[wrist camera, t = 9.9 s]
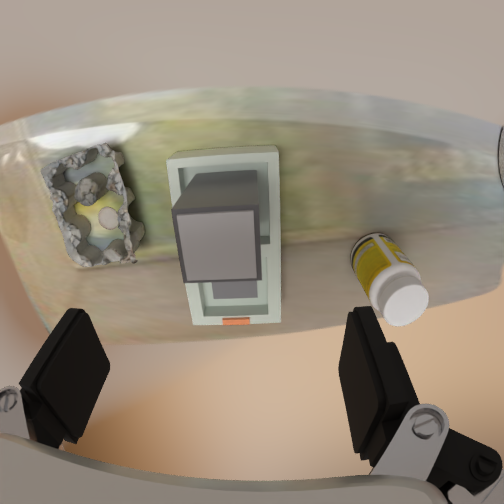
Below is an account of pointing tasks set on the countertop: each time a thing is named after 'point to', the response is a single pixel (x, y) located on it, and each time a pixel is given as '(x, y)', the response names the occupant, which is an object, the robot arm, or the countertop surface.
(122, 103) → the countertop surface
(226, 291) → the power strip
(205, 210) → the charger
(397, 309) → the supplement bottle
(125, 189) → the egg carton
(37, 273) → the countertop surface
